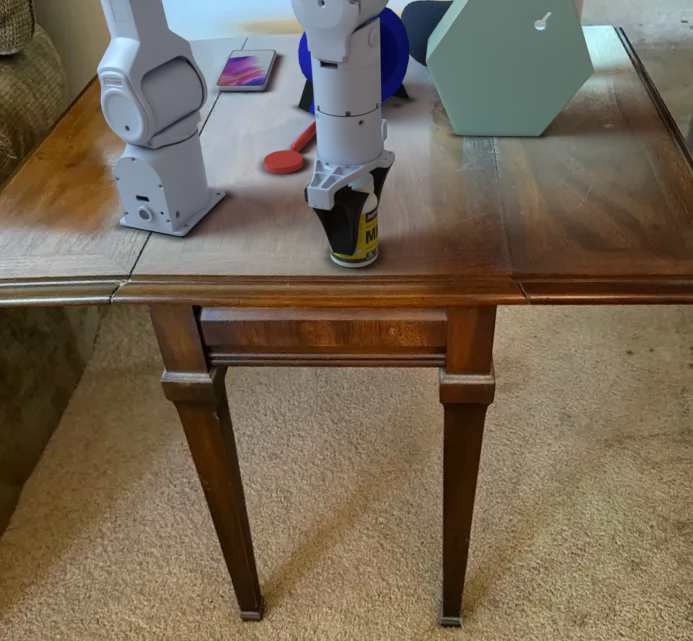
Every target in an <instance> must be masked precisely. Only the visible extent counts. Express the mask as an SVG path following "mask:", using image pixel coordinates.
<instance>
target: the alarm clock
mask: <svg viewBox="0 0 693 641" xmlns="http://www.w3.org/2000/svg"><path fill="white" fill-rule="evenodd" d="M377 17H379V18H380V62H381V104H383V103H384V102H386V101H387V100H389V99H390V98H396V99H397V98H398V99H402V100H410V101H411V98H410V96H409V93H408V91H407V89H406V87H405V85H404V83H403V81H404V80H405V77H406V76H407V71H408V66H409V62H410V55H409V40H408V36H407V32H406V28H405V27H404V25H403V23H402V21H401V16H399V15H398V14H397V13H396V12H395V11H394V10H393V9H392V8H390V7H388V6H386V7H385V8H384V9H383V10H382V11H381V12H380V13H379V14H378V15H377V16H376V17H374V18H372V19H371V20H374V19H376V18H377ZM371 20H369V21H371ZM297 56H298V57H297V58H298V65H299V68H300V70H301V71H300V72H301V74H302V75H303V76H304V78H305V79H306V80H305V82H304V86H303V89H302V92H301V96H300V99H299V103H298V105H297V108H298V109H300V110H303V111H305V112H307V113H309V114H312V115H314V116H315V104H314V90H313V76H312V63H311V52H310V51H308V42H307V36H306V33H305V31H304V30H303V33H302V35H301V37H300V39H299V43H298V49H297Z"/></svg>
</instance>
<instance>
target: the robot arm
mask: <svg viewBox="0 0 693 641" xmlns="http://www.w3.org/2000/svg"><path fill="white" fill-rule="evenodd" d="M389 1H390V0H290V5H291V8H292V11H293V13H294V16H295V18H296V20H297V23H298V24H299V25H300V26H301V27H302V28H301V29H303V32H304V31H305V33H306V36H307V42H308V51H310V52H311V63H312V76H313V90H314V104H315V115H314V117H315V120H316V132H317V133H316V140H317V141H316V143H317V144H316V145H317V148H316V150H315V154H314V164H313V171H312V172H313V173H312V177H311V181H309V183H308V184H307V185H306V186H305V188H304V189H303V193H304V200H305V202H306V203H307V204H308V207H309V208H311V209H312V211H313V212H314V213H315V214H316V216H317V218H318V219H319V222H320V223H321V225H322V227H323V230H324V232H325V236H326V239H327V241H328V244H329V247H330V246H331V249H332V251H333V253H337V254H342V255H348V256H353V254H354V253H355V250H356V247H357V241H358V230H359V222H360V217H361V213H362V210H363V207H364V204H365V202H366V200H367V198H368V196H369V194H370V193H366V192H360V191H354V190H352V186H350V187H349V183H351V182H352V181H354V180H356V179H358V178H359V177H361V176H363V175H364V174H366V173H368V172H369V173H370V174H371V175H372V176H373V183H374V192H373V193H374V194H375V195H376V197H377V202H378V207H379V206H380V201H381V197H382V192H383V189H384V185H385V183H386V179H387V177H388V175H389V172H390V170H391V168H392V166H393V164H394V162H395V160H396V153H395V152H394V151H392V150H388V149H385V141H386V140H387V139H388V119H386V118H382V103H381V62H380V18H379V17H377V18H376V19H374V20H371V19H372V18H374V17H376V16H377V15H378V14H379V13H380V12H381V11H382V10H383V9H384V8H385V7H387V5H388V3H389ZM100 5H101V7H102V12H103V15H104V18H105V21H106V25H107V27H108V32H109V34H110V42H109V44H108V46H107V48H106V50H105V52H104V54H103V56H102V58H101V60H100V61H99V64H98V66H97V69H96V74H97V76H98V79H99V83H100V106H101V111H102V115H103V116H104V119H105V121H106V123H107V125H108V126H109V128H110V129H111V130H112V131H113V132H114V134H115V135H117V136H118V138H120V139H121V140H122V142H124V143H126V145H125V148H124V151H123V153H122V154H121V156H120V157H119V158H118V159H117V161H116V162H115V165H114V168H113V176H114V180H115V185H116V188H117V189H116V190H117V192H118V193H117V194H118V196H119V200H120V204H121V208H122V213H123V215H124V216H122V217H121V218H120V220H119V224H120V225H121V226H123V227H130V228H136V229H140V230H145V231H151V232H156V233H161V234H166V235H172V236H178V237H183V236H186V235H187V234H188V232H189V231H190V230H192V228H194V227H195V226H196V224H198V222H200V220H202V219H203V218H204V217H205V216H206V215H207V214H209V212H210V211H211V210H212V209H213V208H214V207H215V206H216V205H217V204H218V203H219V202H220V201H221V200H222V199H223V198H224V197H225V196H226V191H225V189H220V188H213V187H209V184H208V177H207V172H206V167H205V161H204V155H203V150H202V144H201V138H200V132H199V127H198V124H199V122H201V121H202V119H201V113H200V110H201V109H203V107H205V105H206V104H207V100H208V94H209V93H208V92H209V90H208V84H207V81H206V78H205V76H204V73H203V72H202V70H201V69H200V68H201V67H199V65H198V64H197V61H196V60H195V57H194V55H193V51H192V47H191V43H190V42H189V40H187V39H186V38H184V37H182V36H181V35H179V34H177V33H175V32H174V31H172V30H171V29H170V28H169V25H168V20H167V16H166V12H165V9H164V4H163V0H100ZM369 20H371V21H369Z"/></svg>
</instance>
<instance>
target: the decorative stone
mask: <svg viewBox="0 0 693 641" xmlns="http://www.w3.org/2000/svg"><path fill="white" fill-rule="evenodd" d="M453 2H454V0H412V1H411V2H408V3H407V4H406V5H405V6H404V8H403V9H402V11H401V15H400V19H401V21H402V23H403V25H404V27H405V28H406V32H407V36H408V40H409V57H411V58H412V59H413V60H414V61H415V62H416V63H418V64H420V65H421V66H424V67H426V68H428V66H427V64H426V55H427V46H428V39H429V37H430V36H431V34H432V33H433V31H434V30H435V28H436V27H437V25H438V24H439V22H440V21H441V19H442V18H443V16H444V15H445V13H446V12H447V11H448V9H449V8H450V6H451V5H452V3H453Z"/></svg>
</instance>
